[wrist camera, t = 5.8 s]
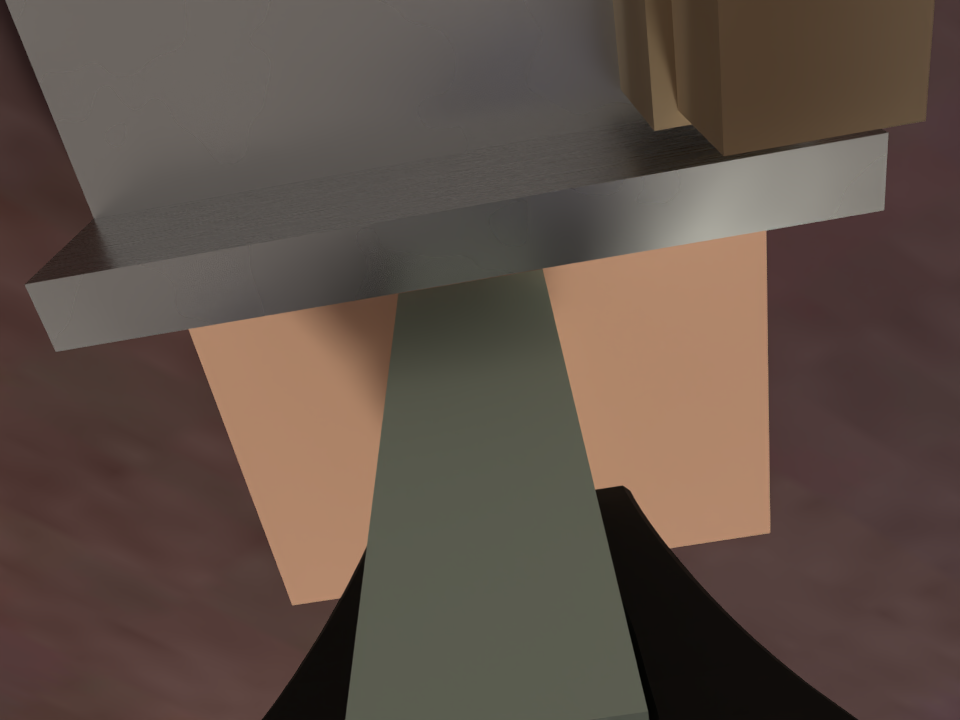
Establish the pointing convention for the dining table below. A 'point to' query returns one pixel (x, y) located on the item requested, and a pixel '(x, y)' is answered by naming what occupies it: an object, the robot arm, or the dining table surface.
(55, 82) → the rack
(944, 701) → the dining table surface
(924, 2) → the offcut stack
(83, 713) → the dining table surface
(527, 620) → the sage green tall pillar
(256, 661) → the dining table surface
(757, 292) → the mat
